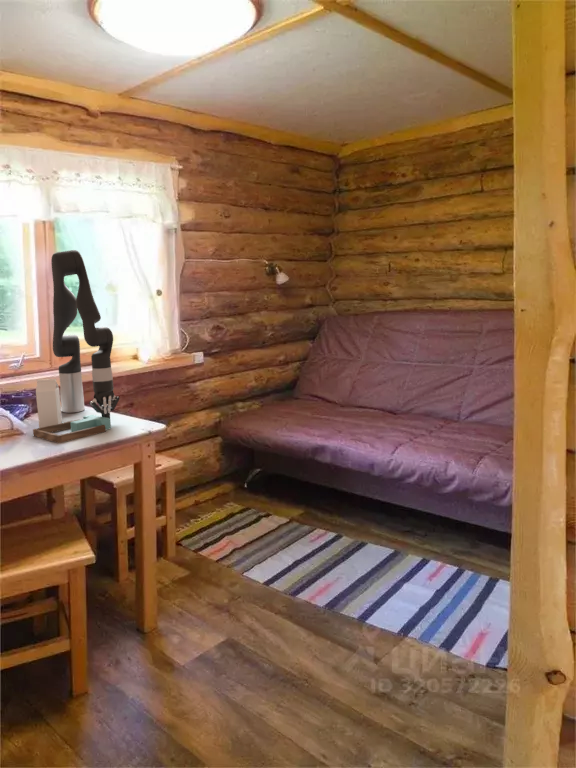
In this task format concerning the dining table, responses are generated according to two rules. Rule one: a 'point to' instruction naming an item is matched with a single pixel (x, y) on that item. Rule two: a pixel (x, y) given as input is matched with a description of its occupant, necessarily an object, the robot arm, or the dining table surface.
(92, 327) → the robot arm
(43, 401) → the milk carton
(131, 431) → the dining table surface
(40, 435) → the bay
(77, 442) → the dining table surface
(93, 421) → the T-block
